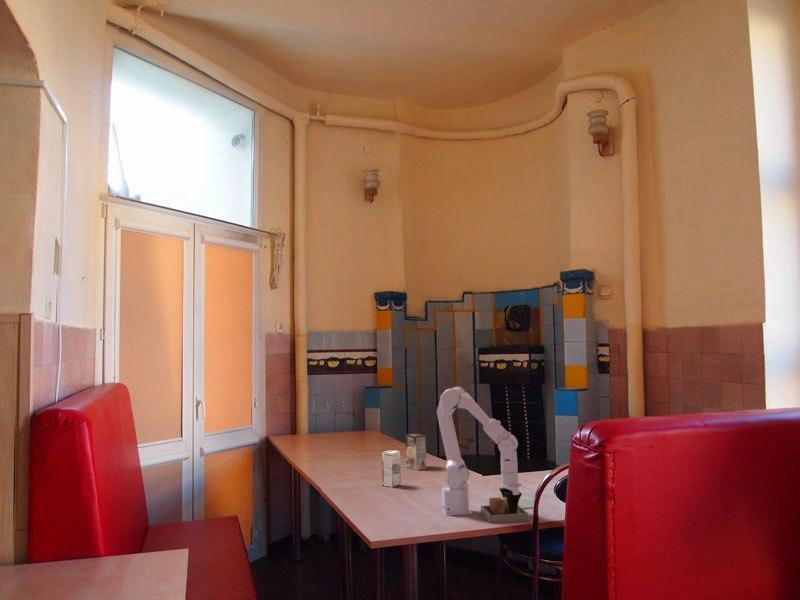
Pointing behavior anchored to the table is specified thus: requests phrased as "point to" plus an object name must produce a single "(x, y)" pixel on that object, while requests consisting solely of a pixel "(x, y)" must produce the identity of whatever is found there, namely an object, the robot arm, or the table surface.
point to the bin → (504, 515)
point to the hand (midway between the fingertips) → (511, 511)
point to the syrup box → (391, 468)
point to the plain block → (496, 506)
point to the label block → (506, 508)
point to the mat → (526, 504)
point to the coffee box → (415, 451)
